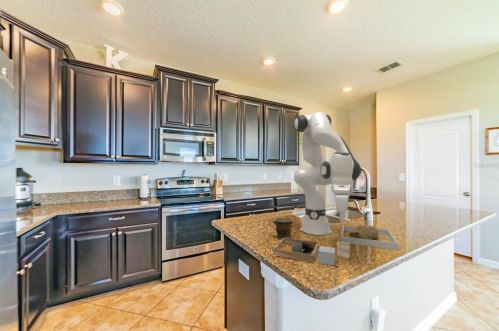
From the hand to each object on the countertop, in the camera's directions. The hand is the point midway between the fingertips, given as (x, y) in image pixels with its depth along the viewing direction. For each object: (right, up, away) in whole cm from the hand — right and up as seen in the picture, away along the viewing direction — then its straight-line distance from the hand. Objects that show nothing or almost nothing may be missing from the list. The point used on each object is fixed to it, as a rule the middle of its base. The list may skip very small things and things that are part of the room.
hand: (342, 219), depth 94 cm
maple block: (0, -16, 0) cm, 16 cm away
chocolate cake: (-18, -16, +2) cm, 24 cm away
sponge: (+22, -16, +22) cm, 35 cm away
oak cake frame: (-20, -16, +4) cm, 25 cm away
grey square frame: (+22, -16, +22) cm, 35 cm away
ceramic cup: (-24, -16, +24) cm, 38 cm away
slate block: (-9, -16, -7) cm, 19 cm away
